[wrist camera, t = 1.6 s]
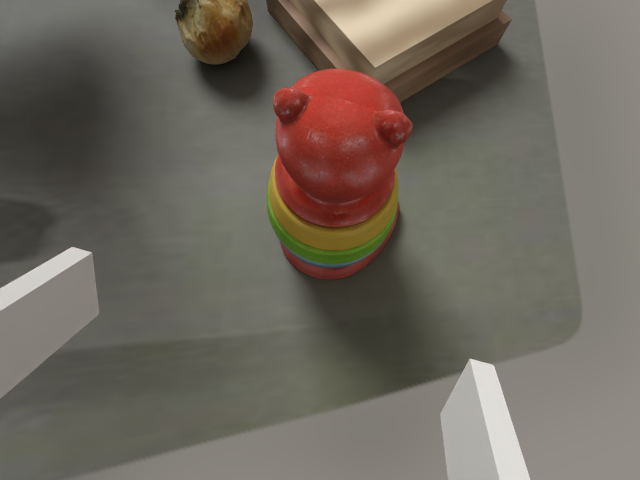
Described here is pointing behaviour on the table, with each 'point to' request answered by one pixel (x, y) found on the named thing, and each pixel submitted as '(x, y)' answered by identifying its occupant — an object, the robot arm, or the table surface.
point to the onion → (214, 28)
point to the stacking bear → (335, 171)
